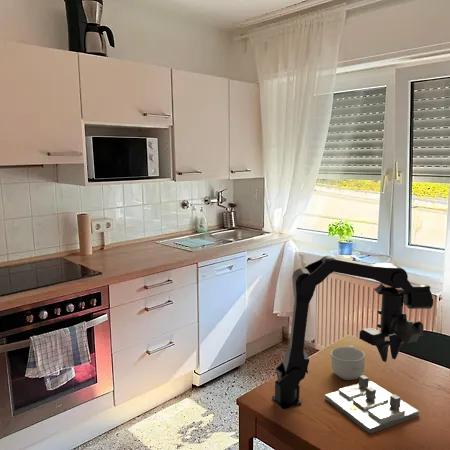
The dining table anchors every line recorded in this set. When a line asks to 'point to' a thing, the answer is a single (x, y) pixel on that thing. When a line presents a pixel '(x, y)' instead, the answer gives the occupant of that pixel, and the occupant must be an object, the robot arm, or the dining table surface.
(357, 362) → the teacup
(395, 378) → the dining table surface
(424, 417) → the dining table surface
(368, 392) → the handle
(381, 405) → the breaker panel
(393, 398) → the right handle
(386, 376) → the dining table surface
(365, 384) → the left handle
